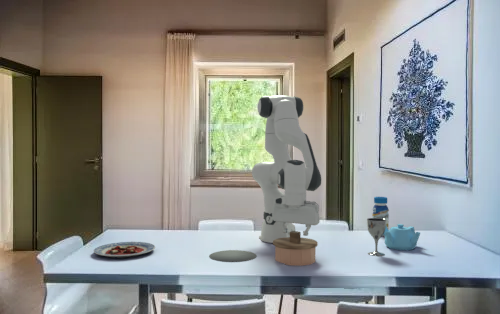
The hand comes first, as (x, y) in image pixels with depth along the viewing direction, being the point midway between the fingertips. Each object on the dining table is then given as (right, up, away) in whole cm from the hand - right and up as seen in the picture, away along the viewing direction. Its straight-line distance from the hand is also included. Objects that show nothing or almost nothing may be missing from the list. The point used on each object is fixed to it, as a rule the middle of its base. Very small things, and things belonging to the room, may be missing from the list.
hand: (295, 234), depth 169 cm
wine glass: (+36, -11, +10) cm, 39 cm away
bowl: (0, -11, 0) cm, 11 cm away
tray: (-25, -11, +5) cm, 28 cm away
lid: (0, -4, 0) cm, 4 cm away
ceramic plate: (-73, -11, +12) cm, 75 cm away
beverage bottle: (+51, -10, +53) cm, 74 cm away
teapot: (+51, -11, +23) cm, 57 cm away
